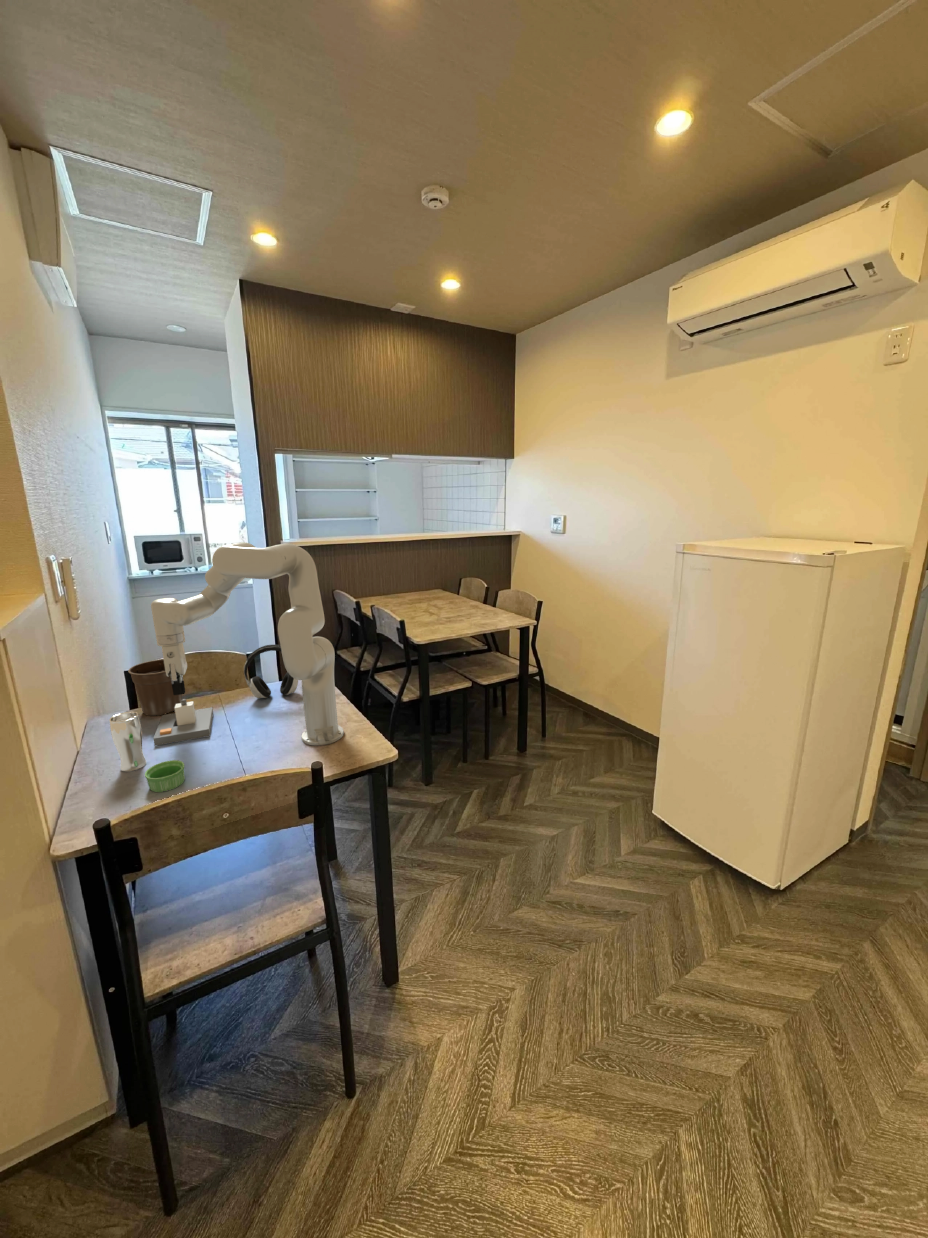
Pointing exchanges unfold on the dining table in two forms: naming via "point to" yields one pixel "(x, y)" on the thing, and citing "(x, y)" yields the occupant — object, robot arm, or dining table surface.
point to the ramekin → (165, 775)
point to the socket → (183, 727)
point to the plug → (185, 712)
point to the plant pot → (154, 688)
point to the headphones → (259, 685)
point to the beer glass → (128, 740)
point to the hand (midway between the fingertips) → (179, 693)
